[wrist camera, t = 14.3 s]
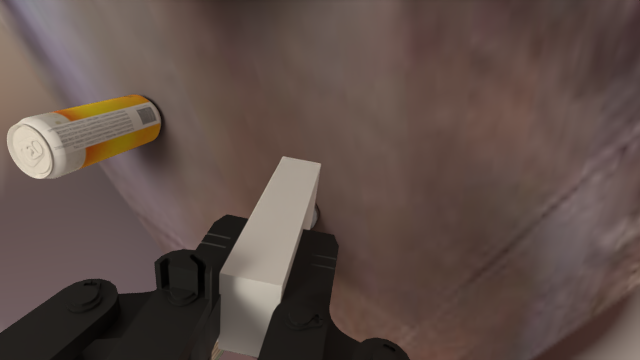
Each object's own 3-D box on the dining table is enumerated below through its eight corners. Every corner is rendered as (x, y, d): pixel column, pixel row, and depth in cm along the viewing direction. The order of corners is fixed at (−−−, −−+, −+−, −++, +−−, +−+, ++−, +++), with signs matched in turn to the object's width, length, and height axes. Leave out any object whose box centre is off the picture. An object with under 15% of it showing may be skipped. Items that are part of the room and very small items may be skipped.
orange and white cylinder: (116, 106, 49) (-7, 135, 36) (146, 85, 47) (25, 108, 33) (142, 147, 50) (31, 191, 37) (173, 129, 48) (66, 169, 35)
